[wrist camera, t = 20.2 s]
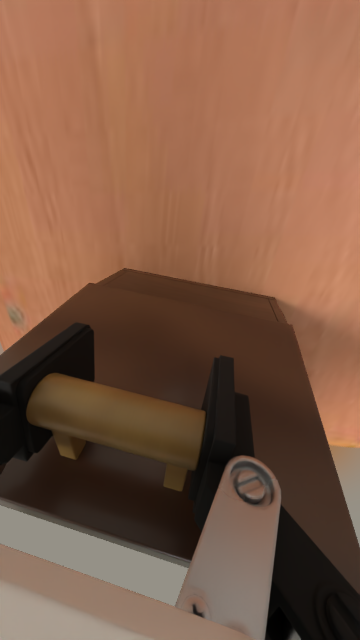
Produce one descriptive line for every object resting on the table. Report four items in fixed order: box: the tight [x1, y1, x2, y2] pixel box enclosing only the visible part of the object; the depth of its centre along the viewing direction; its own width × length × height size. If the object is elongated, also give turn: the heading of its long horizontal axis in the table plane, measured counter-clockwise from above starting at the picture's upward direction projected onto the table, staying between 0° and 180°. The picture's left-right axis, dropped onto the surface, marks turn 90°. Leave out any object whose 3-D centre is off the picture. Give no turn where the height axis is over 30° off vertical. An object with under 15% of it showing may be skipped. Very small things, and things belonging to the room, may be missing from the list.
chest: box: [96, 268, 288, 324], centre depth 26 cm, size 14×17×7 cm
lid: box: [0, 283, 360, 595], centre depth 12 cm, size 14×17×5 cm
